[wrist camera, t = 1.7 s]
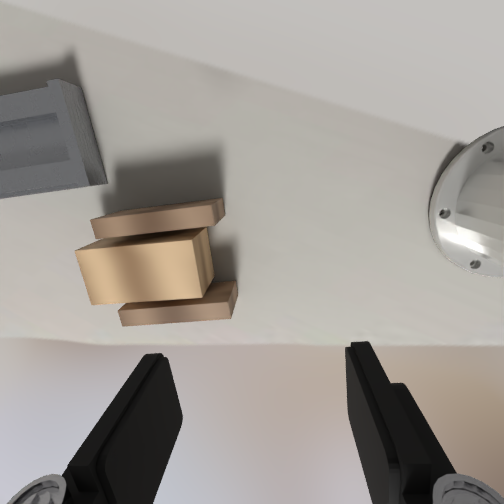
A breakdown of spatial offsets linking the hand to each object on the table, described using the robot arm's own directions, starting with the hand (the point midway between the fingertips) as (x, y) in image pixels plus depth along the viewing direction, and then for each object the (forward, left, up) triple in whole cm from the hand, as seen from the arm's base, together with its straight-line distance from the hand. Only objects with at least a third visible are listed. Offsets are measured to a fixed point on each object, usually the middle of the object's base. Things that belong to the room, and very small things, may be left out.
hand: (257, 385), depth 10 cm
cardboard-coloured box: (+11, 0, -18) cm, 21 cm away
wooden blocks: (+9, 0, -18) cm, 20 cm away
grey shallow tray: (+22, -11, -18) cm, 30 cm away
